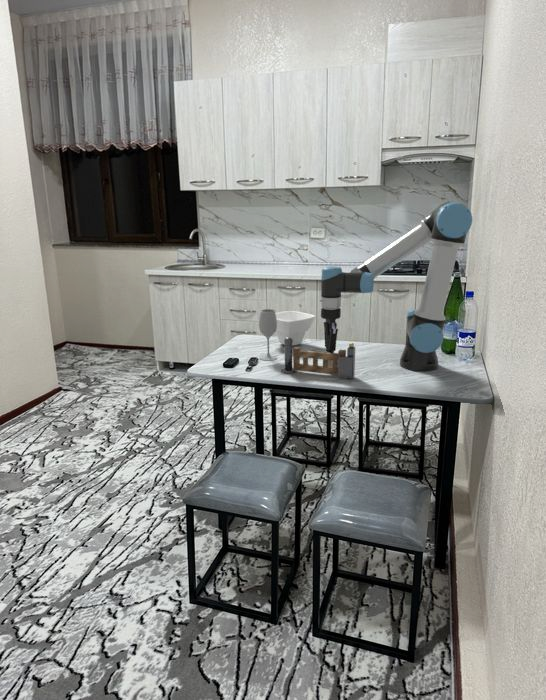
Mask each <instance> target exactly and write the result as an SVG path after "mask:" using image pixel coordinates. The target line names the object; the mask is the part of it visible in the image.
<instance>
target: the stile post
mask: <svg viewBox="0 0 546 700" xmlns="http://www.w3.org/2000/svg"><path fill="white" fill-rule="evenodd" d="M354 344H355V343H353V342H349V345H348V347H347V350H346V356H338V375H337V377H338V378H346V379H347V380H354V379H355V374H356V373H355V371H356V370H355V368H356V346H355V345H354Z"/></svg>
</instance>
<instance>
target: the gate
mask: <svg viewBox="0 0 546 700" xmlns="http://www.w3.org/2000/svg"><path fill="white" fill-rule="evenodd" d="M338 356H347V350H346V349H339V350H338V353H337V352H336V353H335V352H334V353H327V352H326V351H325V352H324V351H316V350H315V351H314V350H304V349H301V347H299V346H294V347H292V368H293V370H296V372H306V373H307V372H309V373H318V374H327V375H337V376H338ZM301 358H302V363H301V361H300V360H301ZM309 359H312V364H309ZM319 360H322V365H319ZM328 360H333V367H329V366H328Z"/></svg>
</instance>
